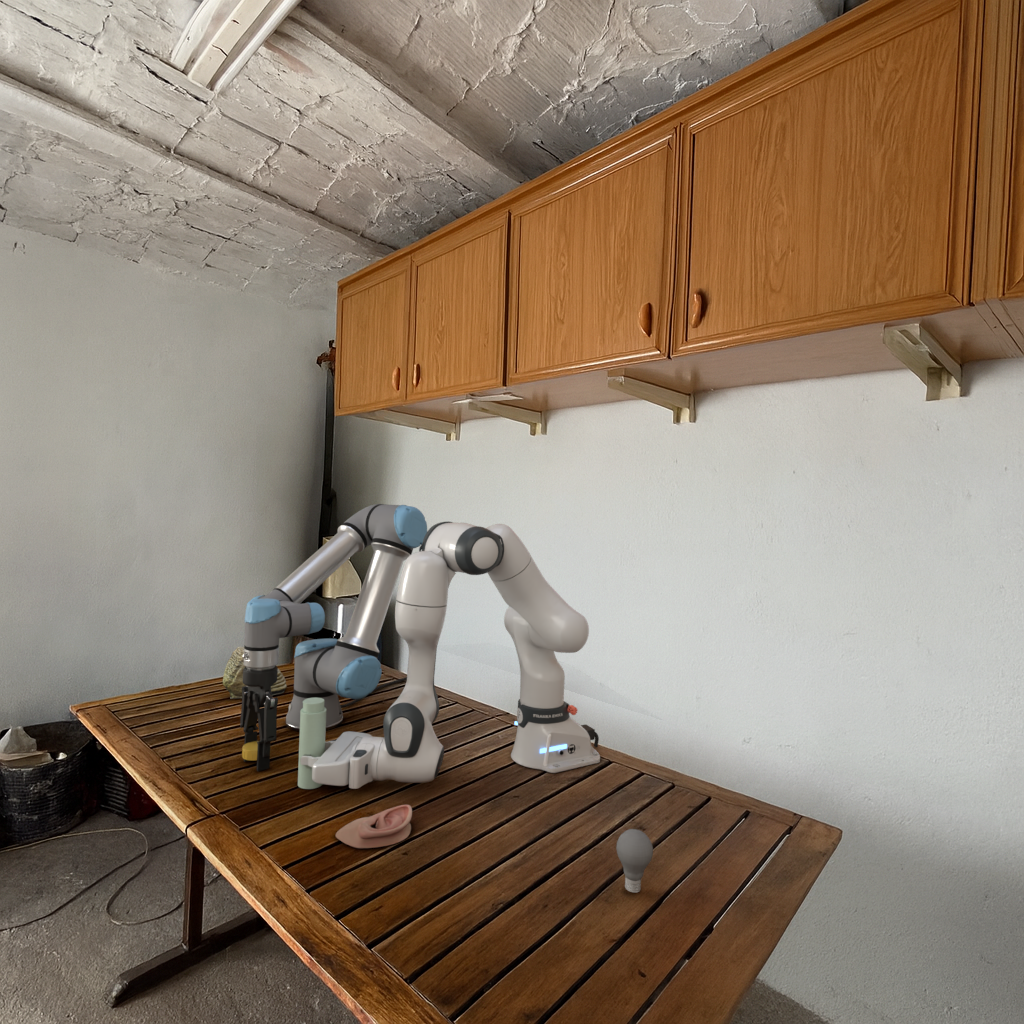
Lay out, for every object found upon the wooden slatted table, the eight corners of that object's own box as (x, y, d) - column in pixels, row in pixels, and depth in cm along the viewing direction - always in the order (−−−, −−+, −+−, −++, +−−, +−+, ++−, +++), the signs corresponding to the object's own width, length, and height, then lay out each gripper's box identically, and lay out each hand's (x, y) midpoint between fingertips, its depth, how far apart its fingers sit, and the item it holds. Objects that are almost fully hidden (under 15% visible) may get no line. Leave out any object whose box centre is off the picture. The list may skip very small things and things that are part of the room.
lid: (236, 755, 147) (236, 746, 147) (260, 748, 152) (260, 738, 152) (251, 763, 143) (252, 753, 143) (275, 754, 148) (276, 745, 148)
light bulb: (610, 879, 108) (613, 822, 108) (644, 879, 109) (647, 822, 109) (619, 902, 102) (622, 840, 102) (655, 901, 103) (658, 840, 103)
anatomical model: (328, 822, 116) (356, 794, 127) (327, 843, 116) (355, 813, 127) (396, 832, 113) (418, 803, 124) (395, 855, 113) (418, 823, 124)
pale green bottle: (320, 776, 143) (323, 695, 143) (326, 786, 139) (329, 702, 138) (295, 780, 141) (298, 698, 140) (300, 791, 136) (303, 705, 136)
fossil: (218, 695, 195) (220, 647, 195) (278, 685, 208) (279, 640, 207) (228, 703, 189) (230, 653, 188) (289, 692, 201) (290, 645, 201)
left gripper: (227, 660, 151) (223, 756, 152) (263, 678, 138) (259, 783, 138) (257, 655, 157) (253, 748, 157) (295, 672, 144) (291, 773, 144)
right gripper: (383, 726, 149) (325, 722, 150) (355, 762, 128) (289, 757, 129) (382, 753, 149) (324, 749, 150) (353, 793, 129) (287, 787, 130)
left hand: (256, 764), depth 148 cm, fingers closed on lid, 6 cm apart
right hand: (307, 753), depth 140 cm, fingers closed on pale green bottle, 5 cm apart
